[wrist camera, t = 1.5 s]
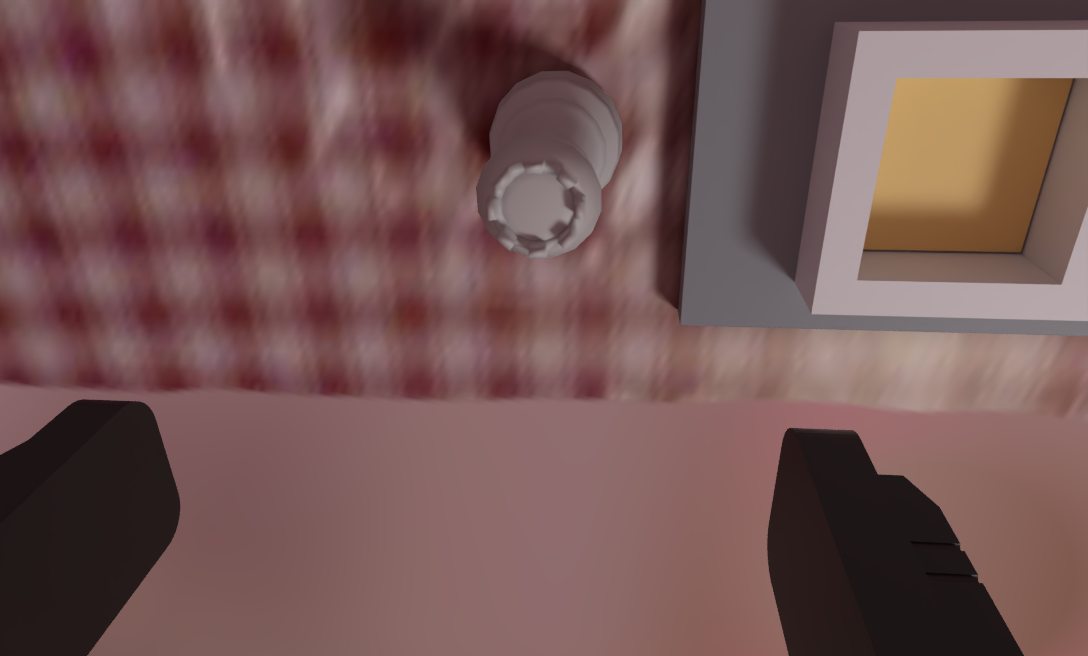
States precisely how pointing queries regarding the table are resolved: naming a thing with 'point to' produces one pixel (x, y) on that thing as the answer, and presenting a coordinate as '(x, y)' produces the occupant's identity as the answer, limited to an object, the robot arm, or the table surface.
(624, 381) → the table surface
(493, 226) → the rook chess piece
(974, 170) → the square frame on plate
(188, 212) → the table surface
